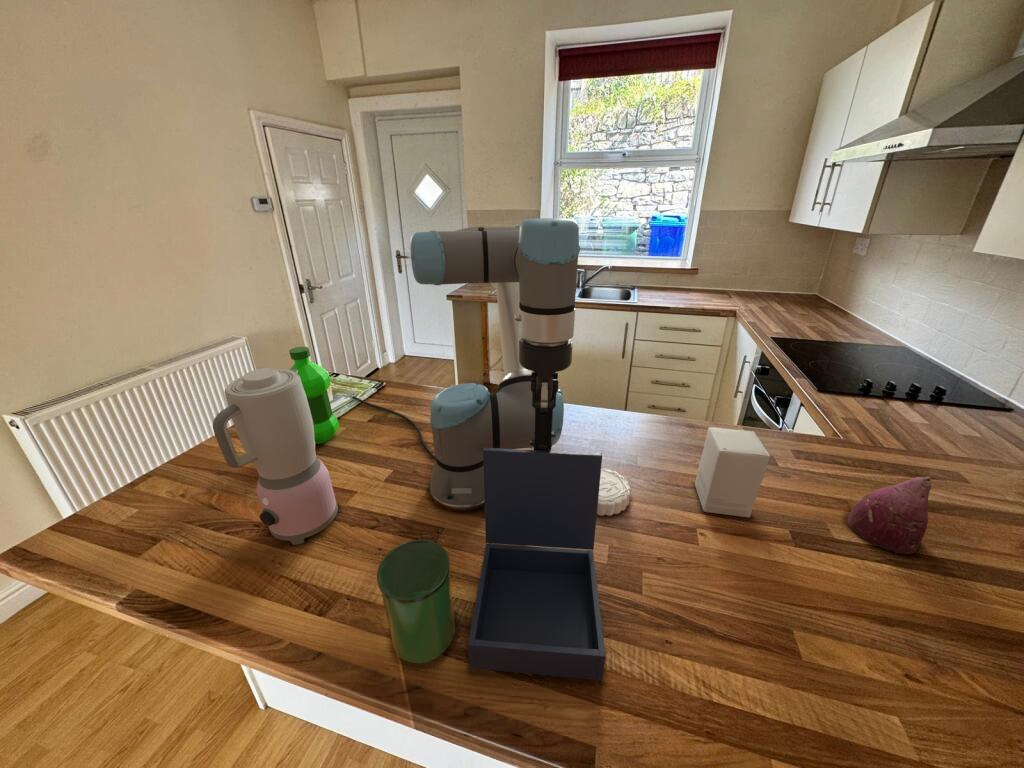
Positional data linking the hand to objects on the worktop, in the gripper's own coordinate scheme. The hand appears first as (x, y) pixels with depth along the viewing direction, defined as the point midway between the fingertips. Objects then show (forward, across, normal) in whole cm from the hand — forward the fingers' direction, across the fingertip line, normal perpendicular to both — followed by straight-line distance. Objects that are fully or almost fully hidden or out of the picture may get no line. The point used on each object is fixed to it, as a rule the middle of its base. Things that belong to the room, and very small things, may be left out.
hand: (541, 474), depth 66 cm
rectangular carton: (+17, -15, +38) cm, 44 cm away
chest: (+17, +14, 0) cm, 21 cm away
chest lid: (+2, +5, 0) cm, 5 cm away
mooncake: (+17, -14, +13) cm, 25 cm away
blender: (+17, -1, -47) cm, 50 cm away
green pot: (+17, +17, -16) cm, 29 cm away
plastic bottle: (+16, -32, -58) cm, 68 cm away
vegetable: (+17, -8, +64) cm, 67 cm away
